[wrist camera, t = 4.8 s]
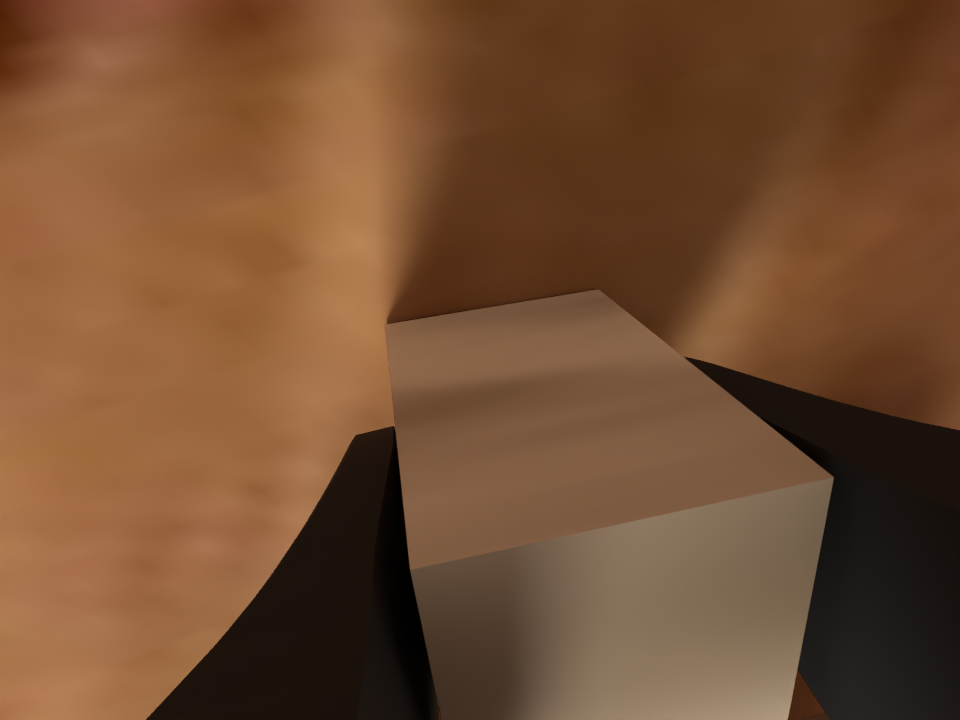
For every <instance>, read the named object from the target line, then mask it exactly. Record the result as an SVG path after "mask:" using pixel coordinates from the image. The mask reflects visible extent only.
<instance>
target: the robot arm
mask: <svg viewBox="0 0 960 720" xmlns="http://www.w3.org/2000/svg"><path fill="white" fill-rule="evenodd" d="M684 358H685V359H687V360H688V361H689V362H690V363H692V364H693V365H694V366H695V367H697V368H698V369H699V370H700V371H702V372H703V373H704V374H705V375H707V376H708V377H709V378H710V379H712V380H713V381H714V382H715V383H717V384H718V385H719V386H720V387H722V388H723V389H724V390H725V391H727V392H728V393H729V394H730V395H732V396H733V397H734V398H735V399H737V400H738V401H739V402H740V403H742V404H743V405H744V406H745V407H747V408H748V409H749V410H750V411H752V412H753V413H754V414H755V415H757V416H758V417H759V418H760V419H762V420H763V421H764V422H765V423H767V424H768V425H769V426H770V427H772V428H773V429H774V430H775V431H777V432H778V433H779V434H780V435H782V436H783V437H784V438H785V439H787V440H788V441H789V442H790V443H792V444H793V445H794V446H795V447H797V448H798V449H799V450H800V451H802V452H803V453H804V454H805V455H807V456H808V457H809V458H810V459H812V460H813V461H814V462H815V463H817V464H818V465H819V466H820V467H822V468H823V469H824V470H825V471H827V472H828V473H829V474H830V475H832V476H833V477H834V480H833V485H832V490H831V496H830V501H829V506H828V511H827V517H826V522H825V527H824V532H823V538H822V543H821V548H820V553H819V559H818V564H817V569H816V574H815V580H814V585H813V590H812V595H811V601H810V606H809V611H808V616H807V622H806V627H805V632H804V637H803V643H802V648H801V653H800V658H799V664H798V671H799V673H800V674H801V676H802V677H803V679H804V680H805V682H806V683H807V685H808V687H809V688H810V690H811V691H812V693H813V694H814V696H815V697H816V699H817V701H818V702H819V704H820V705H821V707H822V708H823V710H824V711H825V713H826V715H827V716H828V718H829V719H830V720H960V430H955V429H950V428H945V427H940V426H935V425H930V424H925V423H921V422H916V421H912V420H907V419H903V418H899V417H894V416H890V415H886V414H883V413H879V412H875V411H871V410H867V409H863V408H859V407H856V406H852V405H848V404H844V403H840V402H837V401H833V400H830V399H826V398H823V397H819V396H816V395H812V394H809V393H806V392H802V391H799V390H796V389H792V388H789V387H786V386H783V385H779V384H776V383H773V382H770V381H766V380H763V379H760V378H757V377H754V376H751V375H747V374H744V373H741V372H738V371H735V370H731V369H728V368H725V367H721V366H718V365H715V364H711V363H708V362H704V361H700V360H696V359H692V358H687V357H684ZM146 720H438V710H437V696H436V691H435V686H434V681H433V677H432V672H431V667H430V662H429V658H428V653H427V648H426V643H425V639H424V634H423V629H422V624H421V620H420V615H419V610H418V605H417V601H416V596H415V591H414V586H413V582H412V577H411V572H410V564H409V555H408V545H407V535H406V526H405V516H404V506H403V497H402V487H401V477H400V468H399V458H398V448H397V439H396V431H395V428H394V426H392V427H388V428H384V429H379V430H375V431H371V432H367V433H363V434H359V435H356V436H355V437H354V439H353V440H352V442H351V443H350V445H349V447H348V449H347V451H346V453H345V455H344V457H343V459H342V461H341V463H340V464H339V466H338V468H337V470H336V472H335V474H334V476H333V477H332V479H331V481H330V483H329V485H328V487H327V488H326V490H325V492H324V494H323V495H322V497H321V499H320V500H319V502H318V504H317V505H316V507H315V509H314V510H313V512H312V514H311V515H310V517H309V519H308V521H307V522H306V524H305V525H304V527H303V529H302V530H301V532H300V533H299V535H298V536H297V538H296V539H295V541H294V542H293V544H292V545H291V547H290V548H289V550H288V551H287V553H286V554H285V556H284V557H283V559H282V560H281V562H280V563H279V565H278V566H277V568H276V569H275V570H274V572H273V573H272V575H271V576H270V578H269V579H268V580H267V582H266V583H265V584H264V586H263V587H262V588H261V590H260V591H259V592H258V594H257V595H256V596H255V598H254V599H253V600H252V602H251V603H250V604H249V605H248V606H247V608H246V609H245V610H244V611H243V613H242V614H241V615H240V616H239V617H238V619H237V620H236V621H235V622H234V624H233V625H232V626H231V627H230V628H229V630H228V631H227V632H226V633H225V634H224V636H223V637H222V638H221V639H220V640H219V641H218V643H217V644H216V645H215V646H214V647H213V648H212V649H211V650H210V652H209V653H208V654H207V655H206V656H205V657H204V658H203V659H202V660H201V661H200V662H199V663H198V664H197V666H196V667H195V668H194V669H193V670H192V671H191V672H190V673H189V674H188V675H187V676H186V677H185V678H184V679H183V681H182V682H181V683H180V684H179V685H178V686H177V687H176V688H175V689H174V690H173V691H172V692H171V693H170V695H169V696H168V697H167V698H166V699H165V700H164V701H163V702H162V703H161V704H160V705H159V706H158V707H157V708H156V710H155V711H154V712H153V713H152V714H151V715H150V716H149V717H148V718H147V719H146Z"/></svg>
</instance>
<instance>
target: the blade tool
mask: <svg viewBox="0 0 960 720" xmlns="http://www.w3.org/2000/svg"><path fill="white" fill-rule="evenodd" d="M385 332H386V342H387V351H388V361H389V371H390V380H391V390H392V400H393V409H394V419H395V429H396V439H397V448H398V458H399V468H400V477H401V487H402V497H403V506H404V516H405V526H406V535H407V545H408V555H409V564H410V572H411V577H412V582H413V586H414V591H415V596H416V601H417V605H418V610H419V615H420V620H421V624H422V629H423V634H424V639H425V643H426V648H427V653H428V658H429V662H430V667H431V672H432V677H433V681H434V686H435V691H436V696H437V700H438V705H439V710H440V715H441V719H442V720H788V716H789V711H790V706H791V700H792V695H793V690H794V685H795V679H796V674H797V669H798V664H799V658H800V653H801V648H802V643H803V637H804V632H805V627H806V622H807V616H808V611H809V606H810V601H811V595H812V590H813V585H814V580H815V574H816V569H817V564H818V559H819V553H820V548H821V543H822V538H823V532H824V527H825V522H826V517H827V511H828V506H829V501H830V496H831V490H832V485H833V480H834V477H833V476H832V475H830V474H829V473H828V472H827V471H825V470H824V469H823V468H822V467H820V466H819V465H818V464H817V463H815V462H814V461H813V460H812V459H810V458H809V457H808V456H807V455H805V454H804V453H803V452H802V451H800V450H799V449H798V448H797V447H795V446H794V445H793V444H792V443H790V442H789V441H788V440H787V439H785V438H784V437H783V436H782V435H780V434H779V433H778V432H777V431H775V430H774V429H773V428H772V427H770V426H769V425H768V424H767V423H765V422H764V421H763V420H762V419H760V418H759V417H758V416H757V415H755V414H754V413H753V412H752V411H750V410H749V409H748V408H747V407H745V406H744V405H743V404H742V403H740V402H739V401H738V400H737V399H735V398H734V397H733V396H732V395H730V394H729V393H728V392H727V391H725V390H724V389H723V388H722V387H720V386H719V385H718V384H717V383H715V382H714V381H713V380H712V379H710V378H709V377H708V376H707V375H705V374H704V373H703V372H702V371H700V370H699V369H698V368H697V367H695V366H694V365H693V364H692V363H690V362H689V361H688V360H687V359H685V358H684V357H683V356H682V355H680V354H679V353H678V352H677V351H675V350H674V349H673V348H672V347H670V346H669V345H668V344H667V343H665V342H664V341H663V340H662V339H660V338H659V337H658V336H657V335H655V334H654V333H653V332H652V331H650V330H649V329H648V328H647V327H645V326H644V325H643V324H642V323H640V322H639V321H638V320H637V319H635V318H634V317H633V316H632V315H630V314H629V313H628V312H626V311H625V310H624V309H623V308H621V307H620V306H619V305H618V304H616V303H615V302H614V301H613V300H611V299H610V298H609V297H608V296H606V295H605V294H604V293H603V292H601V291H600V290H599V289H597V290H591V291H585V292H579V293H573V294H567V295H561V296H555V297H549V298H543V299H537V300H531V301H525V302H519V303H513V304H506V305H500V306H494V307H488V308H482V309H476V310H470V311H464V312H458V313H452V314H446V315H440V316H434V317H428V318H422V319H416V320H410V321H404V322H398V323H392V324H385Z"/></svg>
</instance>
